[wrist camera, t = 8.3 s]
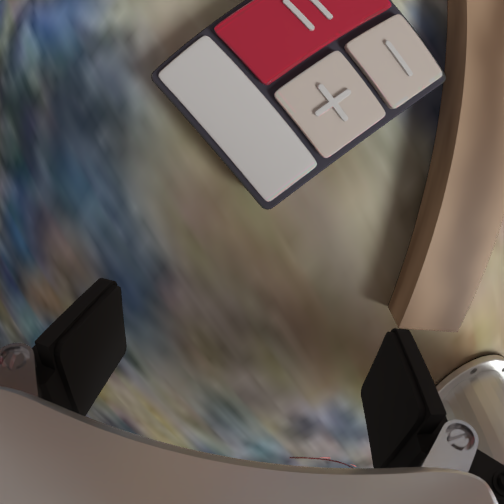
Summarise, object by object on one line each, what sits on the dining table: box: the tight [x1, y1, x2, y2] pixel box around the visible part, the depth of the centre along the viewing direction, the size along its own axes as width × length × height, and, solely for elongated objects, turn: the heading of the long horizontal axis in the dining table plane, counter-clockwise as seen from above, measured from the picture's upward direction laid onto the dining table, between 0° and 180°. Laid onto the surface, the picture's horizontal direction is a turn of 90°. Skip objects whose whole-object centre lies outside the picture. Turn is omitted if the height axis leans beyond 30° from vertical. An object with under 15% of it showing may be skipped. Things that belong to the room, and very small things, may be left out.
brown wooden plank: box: [388, 0, 504, 332], centre depth 17 cm, size 6×32×3 cm, turn 173°
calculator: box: [151, 0, 446, 209], centre depth 17 cm, size 11×4×15 cm
